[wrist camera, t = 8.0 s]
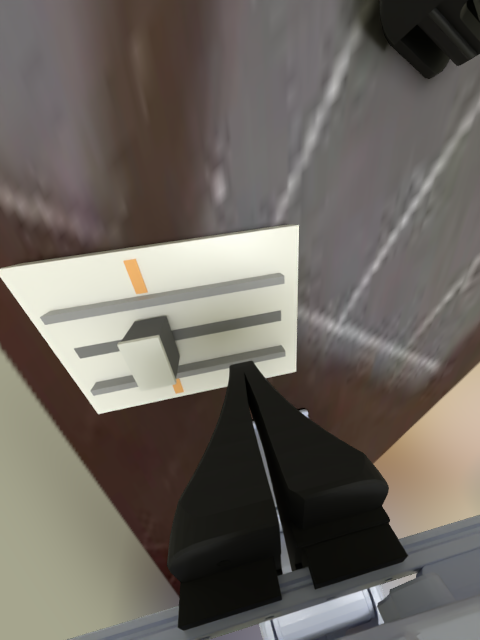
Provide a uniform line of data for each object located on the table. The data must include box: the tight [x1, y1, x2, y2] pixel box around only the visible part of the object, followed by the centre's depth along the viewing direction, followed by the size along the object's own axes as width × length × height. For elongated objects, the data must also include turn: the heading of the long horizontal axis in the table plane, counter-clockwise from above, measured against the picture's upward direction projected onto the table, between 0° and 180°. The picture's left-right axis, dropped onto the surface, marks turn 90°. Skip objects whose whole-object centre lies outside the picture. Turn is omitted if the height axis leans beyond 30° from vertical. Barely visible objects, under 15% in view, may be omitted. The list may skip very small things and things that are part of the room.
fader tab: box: [117, 316, 180, 391], centre depth 15 cm, size 2×4×3 cm, turn 7°
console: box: [0, 224, 299, 414], centre depth 17 cm, size 20×14×3 cm
